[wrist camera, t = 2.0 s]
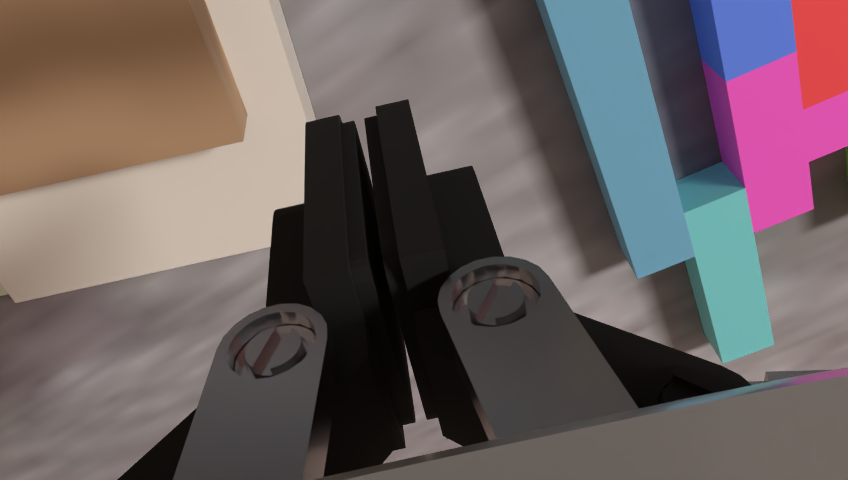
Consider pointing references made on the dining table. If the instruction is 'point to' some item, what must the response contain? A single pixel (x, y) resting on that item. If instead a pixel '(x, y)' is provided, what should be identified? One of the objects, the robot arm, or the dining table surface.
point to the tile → (109, 87)
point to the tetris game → (736, 132)
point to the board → (173, 182)
